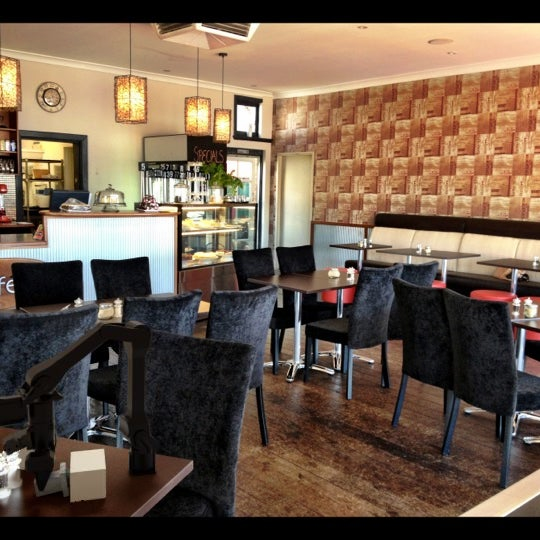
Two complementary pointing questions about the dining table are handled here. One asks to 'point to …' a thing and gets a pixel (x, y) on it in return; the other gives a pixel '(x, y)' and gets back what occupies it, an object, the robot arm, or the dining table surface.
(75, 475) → the block
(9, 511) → the dining table surface
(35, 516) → the dining table surface
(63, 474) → the grey flanged bar
